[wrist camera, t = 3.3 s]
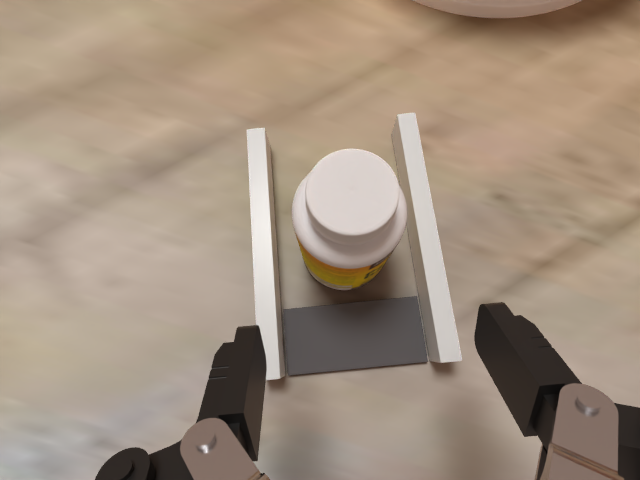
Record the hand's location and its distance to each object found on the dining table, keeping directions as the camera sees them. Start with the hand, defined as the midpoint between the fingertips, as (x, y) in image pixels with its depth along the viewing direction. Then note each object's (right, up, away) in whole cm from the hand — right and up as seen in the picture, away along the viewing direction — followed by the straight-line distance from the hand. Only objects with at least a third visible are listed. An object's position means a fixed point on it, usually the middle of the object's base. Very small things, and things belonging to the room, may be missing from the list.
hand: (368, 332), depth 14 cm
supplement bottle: (0, +3, +12) cm, 12 cm away
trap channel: (0, +4, +12) cm, 13 cm away
